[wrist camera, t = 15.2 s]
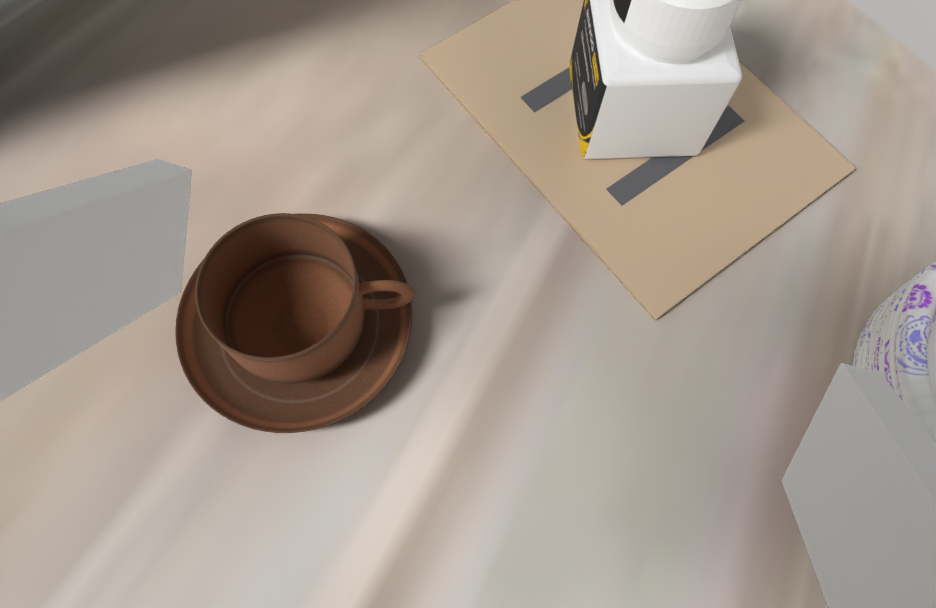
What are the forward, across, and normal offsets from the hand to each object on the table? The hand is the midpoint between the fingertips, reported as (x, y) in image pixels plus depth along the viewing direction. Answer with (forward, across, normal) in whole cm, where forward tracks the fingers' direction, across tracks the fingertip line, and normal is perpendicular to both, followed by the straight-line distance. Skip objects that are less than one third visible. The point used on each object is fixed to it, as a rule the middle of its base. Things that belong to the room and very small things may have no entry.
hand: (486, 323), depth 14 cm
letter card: (+34, +3, +2) cm, 34 cm away
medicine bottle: (+33, +3, +2) cm, 34 cm away
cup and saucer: (+20, -11, -13) cm, 26 cm away
